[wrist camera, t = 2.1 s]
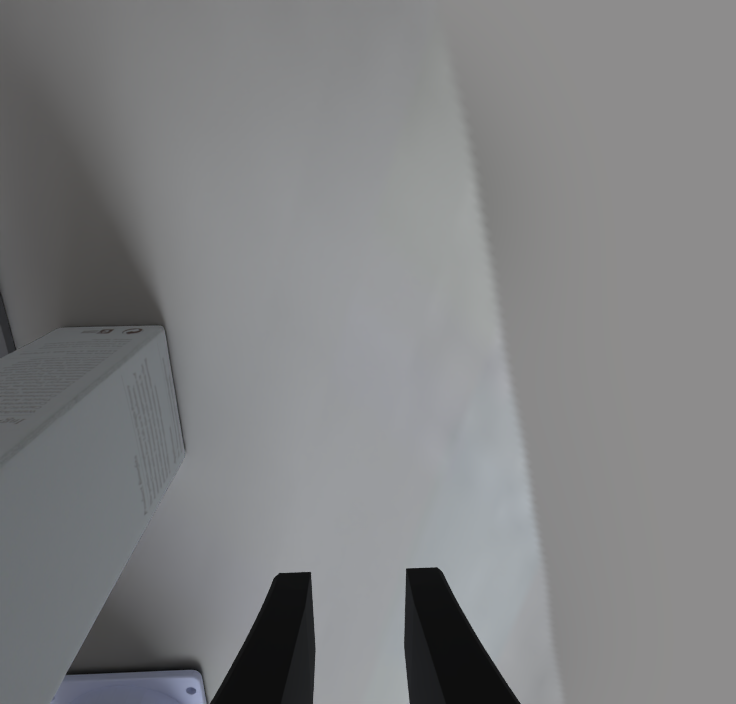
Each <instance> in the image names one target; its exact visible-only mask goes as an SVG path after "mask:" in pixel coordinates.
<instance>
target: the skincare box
mask: <svg viewBox="0 0 736 704" xmlns="http://www.w3.org/2000/svg"><path fill="white" fill-rule="evenodd" d="M184 458H185V450H184V444H183V439H182V433H181V427H180V420H179V414H178V408H177V402H176V396H175V390H174V384H173V378H172V372H171V366H170V360H169V354H168V347H167V341H166V335H165V330H164V328H163V327H162V326H158V325H154V326H106V327H66V328H58V329H56V330H54V331H52V332H50V333H48V334H46V335H45V336H43V337H41V338H39V339H37V340H35V341H33V342H32V343H30V344H28V345H26V346H23V347H21V348H19V349H17V350H16V351H14V352H12V353H10V354H7V355H6V356H4V357H2V358H0V704H50V703H51V701H52V699H53V697H54V696H55V694H56V692H57V690H58V688H59V686H60V684H61V683H62V681H63V679H64V677H65V675H66V673H67V671H68V669H69V668H70V666H71V664H72V662H73V660H74V659H75V657H76V655H77V653H78V652H79V650H80V648H81V646H82V644H83V642H84V640H85V639H86V637H87V635H88V633H89V631H90V629H91V628H92V626H93V624H94V622H95V620H96V618H97V616H98V615H99V613H100V611H101V609H102V607H103V606H104V604H105V602H106V600H107V598H108V596H109V595H110V593H111V591H112V589H113V587H114V585H115V584H116V582H117V580H118V578H119V576H120V574H121V573H122V571H123V569H124V567H125V565H126V564H127V562H128V560H129V558H130V556H131V555H132V553H133V551H134V549H135V547H136V545H137V544H138V542H139V540H140V538H141V536H142V535H143V533H144V531H145V529H146V527H147V525H148V524H149V522H150V520H151V518H152V516H153V514H154V513H155V511H156V509H157V507H158V505H159V503H160V501H161V499H162V498H163V496H164V494H165V492H166V491H167V489H168V487H169V485H170V483H171V482H172V480H173V478H174V476H175V474H176V472H177V471H178V469H179V467H180V465H181V463H182V462H183V460H184Z"/></svg>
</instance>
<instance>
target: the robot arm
mask: <svg viewBox="0 0 736 704" xmlns="http://www.w3.org/2000/svg"><path fill="white" fill-rule="evenodd" d="M404 649H405V659H406V670H407V680H408V690H409V700H410V704H520V702H519V701H518V699H517V698H516V696H515V695H514V693H513V692H512V690H511V689H510V687H509V686H508V684H507V683H506V681H505V680H504V678H503V677H502V675H501V674H500V672H499V670H498V669H497V667H496V666H495V664H494V663H493V661H492V659H491V658H490V656H489V655H488V653H487V652H486V650H485V649H484V647H483V645H482V644H481V642H480V640H479V639H478V637H477V635H476V634H475V632H474V630H473V629H472V627H471V625H470V623H469V622H468V620H467V618H466V616H465V615H464V613H463V611H462V609H461V608H460V606H459V604H458V602H457V600H456V598H455V596H454V595H453V593H452V591H451V589H450V587H449V585H448V583H447V581H446V579H445V576H444V574H443V572H442V571H441V570H440V569H438V568H437V567H436V568H408V569H406V598H405V636H404ZM314 670H315V634H314V617H313V600H312V584H311V572H299V573H279V574H278V575H277V576H276V577H275V578H274V579H273V582H272V584H271V587H270V589H269V592H268V594H267V596H266V599H265V601H264V603H263V605H262V608H261V610H260V612H259V614H258V616H257V618H256V620H255V622H254V624H253V626H252V628H251V630H250V632H249V634H248V636H247V638H246V640H245V642H244V644H243V646H242V648H241V649H240V651H239V653H238V655H237V657H236V659H235V660H234V662H233V664H232V666H231V668H230V670H229V671H228V673H227V675H226V677H225V679H224V681H223V682H222V684H221V686H220V688H219V689H218V691H217V693H216V695H215V696H214V698H213V700H212V701H211V703H210V704H313V691H314ZM50 704H207V703H206V697H205V692H204V686H203V680H202V676H201V674H200V673H199V672H198V671H196V670H172V671H149V672H127V673H104V674H81V675H65V677H64V679H63V681H62V683H61V684H60V686H59V688H58V690H57V692H56V694H55V696H54V697H53V699H52V701H51V703H50Z"/></svg>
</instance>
